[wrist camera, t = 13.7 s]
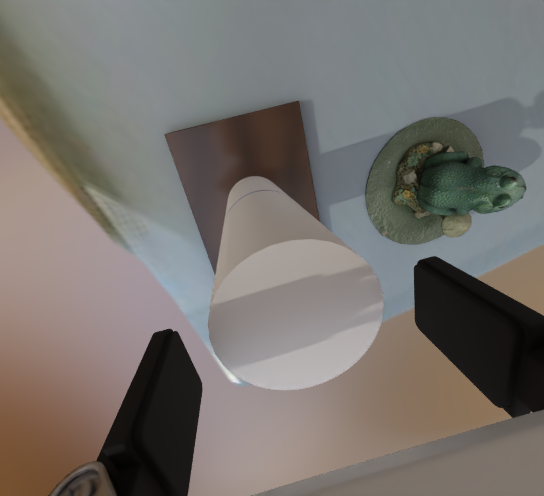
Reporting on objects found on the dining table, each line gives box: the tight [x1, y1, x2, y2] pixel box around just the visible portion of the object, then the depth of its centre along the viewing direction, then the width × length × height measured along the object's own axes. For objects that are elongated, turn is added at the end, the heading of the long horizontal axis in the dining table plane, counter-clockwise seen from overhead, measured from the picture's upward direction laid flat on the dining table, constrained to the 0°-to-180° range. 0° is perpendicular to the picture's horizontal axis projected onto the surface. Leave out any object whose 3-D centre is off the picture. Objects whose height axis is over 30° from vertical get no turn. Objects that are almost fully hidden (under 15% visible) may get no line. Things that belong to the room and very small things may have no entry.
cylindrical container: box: [208, 176, 384, 390], centre depth 22 cm, size 7×7×25 cm
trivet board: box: [164, 101, 319, 275], centre depth 34 cm, size 16×21×2 cm
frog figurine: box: [366, 118, 526, 244], centre depth 32 cm, size 18×18×12 cm
